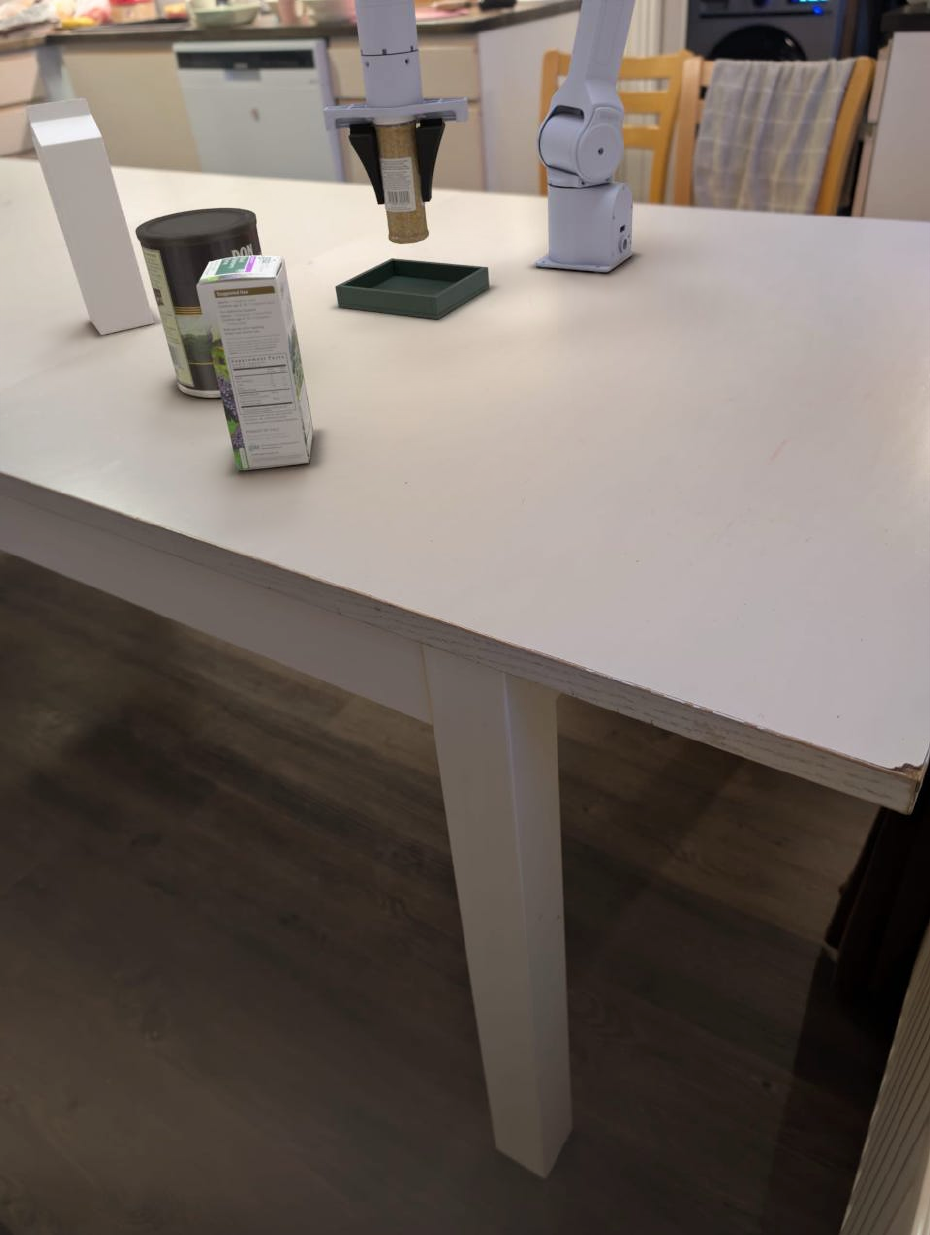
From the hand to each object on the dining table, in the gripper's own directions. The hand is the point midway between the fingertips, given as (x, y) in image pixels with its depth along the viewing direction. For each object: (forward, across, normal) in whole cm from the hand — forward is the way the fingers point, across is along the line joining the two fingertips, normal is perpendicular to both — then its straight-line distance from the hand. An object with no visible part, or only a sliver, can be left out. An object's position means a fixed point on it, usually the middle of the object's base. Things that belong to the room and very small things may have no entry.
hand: (405, 201), depth 97 cm
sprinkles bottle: (+4, 0, 0) cm, 4 cm away
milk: (+10, +33, +5) cm, 35 cm away
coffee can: (+10, +14, +23) cm, 29 cm away
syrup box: (+10, +6, +39) cm, 41 cm away
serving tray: (+10, 0, +1) cm, 10 cm away
